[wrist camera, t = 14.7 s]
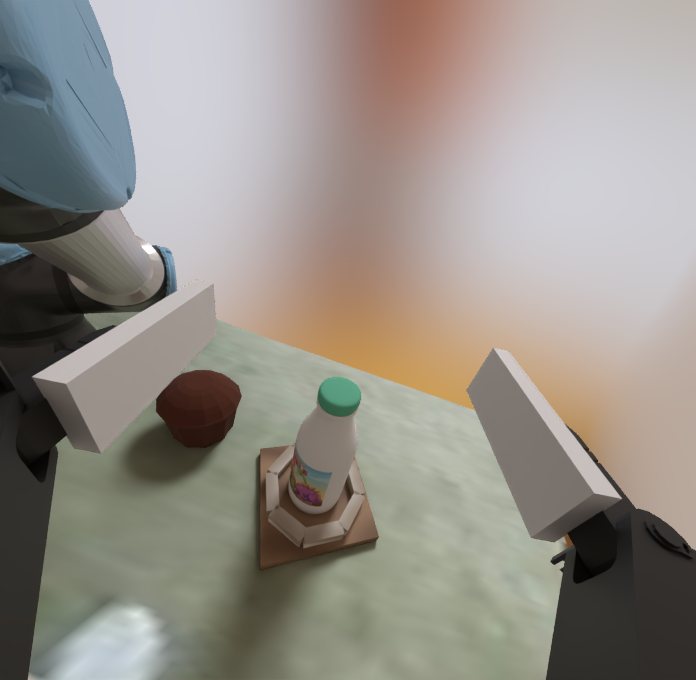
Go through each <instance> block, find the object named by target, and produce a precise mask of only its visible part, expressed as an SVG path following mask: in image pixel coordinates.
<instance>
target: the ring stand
mask: <svg viewBox="0 0 696 680" xmlns="http://www.w3.org/2000/svg"><path fill="white" fill-rule="evenodd" d="M294 448H295V443H294V445H290V446H282V447H273V448H264V449H261V450H260V570H262V569H266V568H270V567H274V566H278V565H281V564H285V563H289V562H293V561H297V560H301V559H305V558H309V557H313V556H317V555H321V554H325V553H329V552H333V551H337V550H341V549H345V548H349V547H353V546H357V545H360V544H364V543H368V542H372V541H376V540H377V539H378V537H379V536H378V532H377V529H376V526H375V522H374V519H373V516H372V512H371V509H370V506H369V503H368V499H367V496H366V493H365V489H364V486H363V483H362V479H361V476H360V473H359V469H358V466H357V463H356V460H355V457H354V460H353V463H352V466H351V468H350V471H349V474H348V476H347V479H346V482H345V484H344V487H343V490H342V492H341V495H340V497H339V499H338V501H337V503H336V504H335V505H334V506H333V507H332V508H331V509H330V510H328V511H327V512H325V513H322V514H308V513H305V512H303V511H301V510H300V509H298V508H297V507H296V506H295V505H294V503H293V502H292V500H291V498H290V495H289V478H290V471H291V465H292V459H293V454H294Z"/></svg>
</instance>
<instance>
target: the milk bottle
mask: <svg viewBox="0 0 696 680" xmlns="http://www.w3.org/2000/svg"><path fill="white" fill-rule="evenodd" d="M360 400H361V392H360V389H359V388H358V386H357V385H356V384H355V383H354V382H352V381H350V380H348V379H346V378H342V377H332V378H328V379H326V380H325V381H324V382H323V383H322V384H321V386H320V388H319V391H318V397H317V407H316V408H315V409H314V410H313V411H312V412H311V413H310V414H309V415H308V416H307V417H306V418H305V420H304V421H303V423H302V425H301V426H300V429H299V431H298V434H297V439H296V443H295V448H294V454H293V459H292V465H291V471H290V478H289V495H290V498H291V500H292V502H293V503H294V505H295V506H296V507H297V508H298V509H300V510H301V511H303V512H305V513H308V514H322V513H325V512H327V511H328V510H330V509H331V508H332V507H333V506H334V505H335V504H336V503H337V501H338V499H339V497H340V495H341V492H342V490H343V487H344V484H345V482H346V479H347V476H348V474H349V471H350V468H351V466H352V463H353V460H354V457H355V453H356V450H357V444H358V433H357V428H356V424H355V421H354V415H355V414H356V412H357V409H358V406H359V404H360Z"/></svg>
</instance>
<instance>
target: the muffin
mask: <svg viewBox="0 0 696 680" xmlns="http://www.w3.org/2000/svg"><path fill="white" fill-rule="evenodd" d="M241 397H242V396H241V393H240V389H239V386H238V385H237V384H236V383H235V382H233V381H232V380H231V379H230V378H228V377H227V376H225V375H223V374H221V373H218V372H214V371H211V370H195V371H191V372H187V373H183V374H181V375H179V376H178V377H176V378H174V379H173V380H172V381H171V382H170V384H169V385H168V386H167V387H166V388H165V389H164V390H163V391H162V392H161V393H160V395H159V396H158V398H157V399H156V412H157V413H158V414H159V416H160V417H161V418H162V419H163V420H164V421H165V422H166V424H167V426H168V428H169V429H170V431H171V433H172V434H173V436H174V438H175V439H177V440H179V441H180V442H182V443H183V444H184V445H185V446H186V447H205V448H206V447H208V446H210V445H211V444H213V443H215V442H217V441H220V440H222V439H224V438H225V436H226V434H227V432H228V431H229V430H230V429H231V427H232V426H233V423H234V419H235V414H236V410H237V407H238V404H239V402H240V399H241Z"/></svg>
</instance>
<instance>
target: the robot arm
mask: <svg viewBox="0 0 696 680" xmlns="http://www.w3.org/2000/svg"><path fill="white" fill-rule="evenodd" d="M135 180H136V167H135V154H134V147H133V142H132V136H131V130H130V126H129V121H128V116H127V112H126V108H125V104H124V100H123V98H122V95H121V91H120V89H119V86H118V84H117V82H116V80H115V77H114V75H113V67H112V62H111V57H110V54H109V52H108V49H107V46H106V43H105V40H104V38H103V35H102V32H101V30H100V27H99V25H98V22H97V20H96V17H95V14H94V12H93V10H92V7H91V5H90V3H89V1H88V0H0V680H28V672H29V665H30V658H31V650H32V643H33V635H34V628H35V621H36V613H37V606H38V599H39V591H40V584H41V576H42V569H43V562H44V554H45V547H46V539H47V532H48V525H49V517H50V510H51V502H52V495H53V488H54V480H55V473H56V465H57V458H58V451H57V447H56V446H55V445H56V444H57V443H58V442H59V441H60V440H62V439H63V438H64V437H65V436H66V435H67V437H68V439H69V441H70V442H71V444H72V446H73V447H74V448H75V449H80V450H86V451H91V452H96V453H102V452H103V451H104V450H105V449H106V448H107V447H108V446H109V445H110V444H111V443H112V442H113V441H114V440H115V439H116V438H117V437H118V436H119V435H120V434H121V433H122V432H123V431H124V430H125V429H126V428H127V427H128V426H129V425H130V424H131V423H132V422H133V420H134V419H135V418H136V417H137V416H138V415H139V414H140V413H141V412H142V411H143V410H144V409H145V408H146V407H147V406H148V405H149V404H150V403H151V402H152V401H153V400H154V399H155V398H156V397H157V396H158V395H159V394H160V393H161V392H162V391H163V390H164V389H165V388H166V387H167V386H168V385H169V384H170V382H171V381H172V380H173V379H174V378H175V377H176V376H177V375H178V374H179V373H180V372H181V371H182V370H183V369H184V368H185V367H186V366H187V365H188V364H189V363H190V362H191V361H192V360H193V359H194V358H195V357H196V356H197V355H198V354H199V353H200V352H201V351H202V350H203V349H204V348H205V347H206V346H207V344H208V343H209V342H210V341H211V340H212V339H213V338H214V337H215V336H216V335H217V327H216V313H215V299H214V285H213V283H209V282H205V281H201V280H194V281H193V282H191V283H189V284H188V285H186V286H184V287H183V288H181V289H179V290H177V284H176V274H175V265H174V259H173V256H172V253H171V251H170V250H169V249H168V248H165V247H160V246H157V245H155V246H151V245H150V244H148V243H147V242H146V241H144V240H143V239H141V238H139V237H138V236H135V234H134V232H133V231H132V229H131V227H130V226H129V224H128V222H127V221H126V219H125V217H124V215H123V214H122V212H121V210H120V208H121V207H123V206H124V205H125V204H126V203H127V202H128V200H129V199H131V198H132V194H133V192H134V189H135ZM116 312H140V313H139V314H137V315H135V316H134V317H132V318H130V319H129V320H127V321H125V322H123V323H122V324H120V325H118V326H114V325H112V326H109V327H106V328H103V329H100V330H96V329H95V328H94V327H93V326H92V325H91V324H90V323H89V322H88V321H87V319H86V318H85V317H84V314H88V313H116ZM467 392H468V394H469V397H470V399H471V401H472V404H473V406H474V408H475V410H476V413H477V415H478V417H479V420H480V422H481V424H482V427H483V429H484V431H485V433H486V436H487V438H488V440H489V443H490V445H491V447H492V450H493V452H494V454H495V456H496V459H497V461H498V463H499V466H500V468H501V470H502V472H503V475H504V477H505V479H506V482H507V484H508V486H509V489H510V491H511V493H512V495H513V498H514V500H515V502H516V505H517V507H518V509H519V511H520V514H521V516H522V518H523V521H524V523H525V525H526V528H527V530H528V532H529V534H530V537H531V538H534V539H540V540H545V541H550V542H555V541H557V540H559V539H560V538H562V537H563V536H565V535H566V534H568V535H569V537H570V539H571V541H572V543H573V544H574V545H572V546H571V547H569V548H567V549H566V550H564V551H562V552H561V553H559V554H557V555H556V556H554V557H553V558H552V560H551V561H550V562H551V563H552V564H554V565H555V564H557V563H559V562H560V561H565V563H564V567H563V568H561V569H560V571H562V572H563V576H562V582H561V588H560V595H559V601H558V607H557V613H556V620H555V626H554V632H553V639H552V645H551V651H550V657H549V664H548V670H547V676H546V680H696V551H695V550H693V549H691V547H690V546H689V545H688V543H687V542H686V541H685V540H684V538H682V537H681V536H680V535H679V534H678V533H677V532H676V531H675V530H674V529H673V528H672V527H671V526H669V525H668V524H667V523H666V522H664V521H663V520H661V519H660V518H659V517H657V516H655V515H653V514H652V513H650V512H648V511H644V510H641V509H636V508H635V507H634V505H633V504H632V503H631V502H630V500H629V499H628V498H627V497H626V495H624V493H623V491H622V490H621V489H620V488H619V486H618V485H617V484H616V483H615V481H614V480H613V479H612V477H611V476H610V475H609V474H608V472H607V471H606V470H605V469H604V467H603V466H602V465H601V464H600V463H598V460H597V459H596V457H595V456H594V455H593V453H592V452H589V448H588V447H587V446H586V445H585V443H584V442H583V441H582V439H581V438H580V437H579V436H578V435H577V434H576V433H575V432H574V431H573V430H572V429H570V428H569V427H568V426H567V425H566V424H565V423H563V421H562V420H561V419H560V417H559V416H558V415H557V414H556V412H555V411H554V410H553V408H552V407H551V406H550V404H549V403H548V402H547V401H546V399H545V398H544V397H543V395H542V394H541V393H540V391H539V390H538V389H537V388H536V386H535V385H534V384H533V383H532V381H531V380H530V379H529V377H528V376H527V375H526V374H525V372H524V371H523V369H522V368H521V367H520V366H519V364H518V363H517V362H516V360H515V359H514V358H513V356H512V355H511V354H510V352H509V351H505V350H500V349H496V348H493V349H492V351H491V352H490V354H489V355H488V357H487V358H486V360H485V362H484V363H483V365H482V366H481V368H480V370H479V371H478V373H477V374H476V376H475V377H474V379H473V381H472V382H471V384H470V385H469V387H468V388H467Z"/></svg>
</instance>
